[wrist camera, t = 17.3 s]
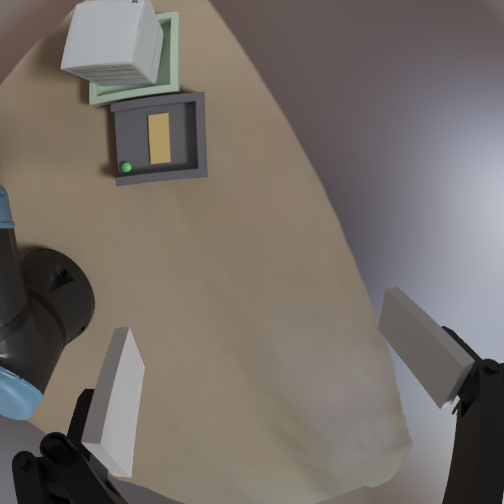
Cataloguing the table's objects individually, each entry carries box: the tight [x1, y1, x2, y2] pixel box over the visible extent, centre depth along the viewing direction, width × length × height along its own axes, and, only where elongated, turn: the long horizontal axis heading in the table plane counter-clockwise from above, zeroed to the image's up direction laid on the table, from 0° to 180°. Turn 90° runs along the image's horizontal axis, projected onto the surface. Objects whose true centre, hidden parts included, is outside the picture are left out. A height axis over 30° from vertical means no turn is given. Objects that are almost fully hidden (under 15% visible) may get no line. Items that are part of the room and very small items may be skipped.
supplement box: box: [60, 0, 165, 87], centre depth 22 cm, size 7×7×13 cm
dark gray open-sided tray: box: [111, 92, 208, 186], centre depth 32 cm, size 11×10×4 cm
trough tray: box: [89, 11, 180, 107], centre depth 27 cm, size 11×11×3 cm
